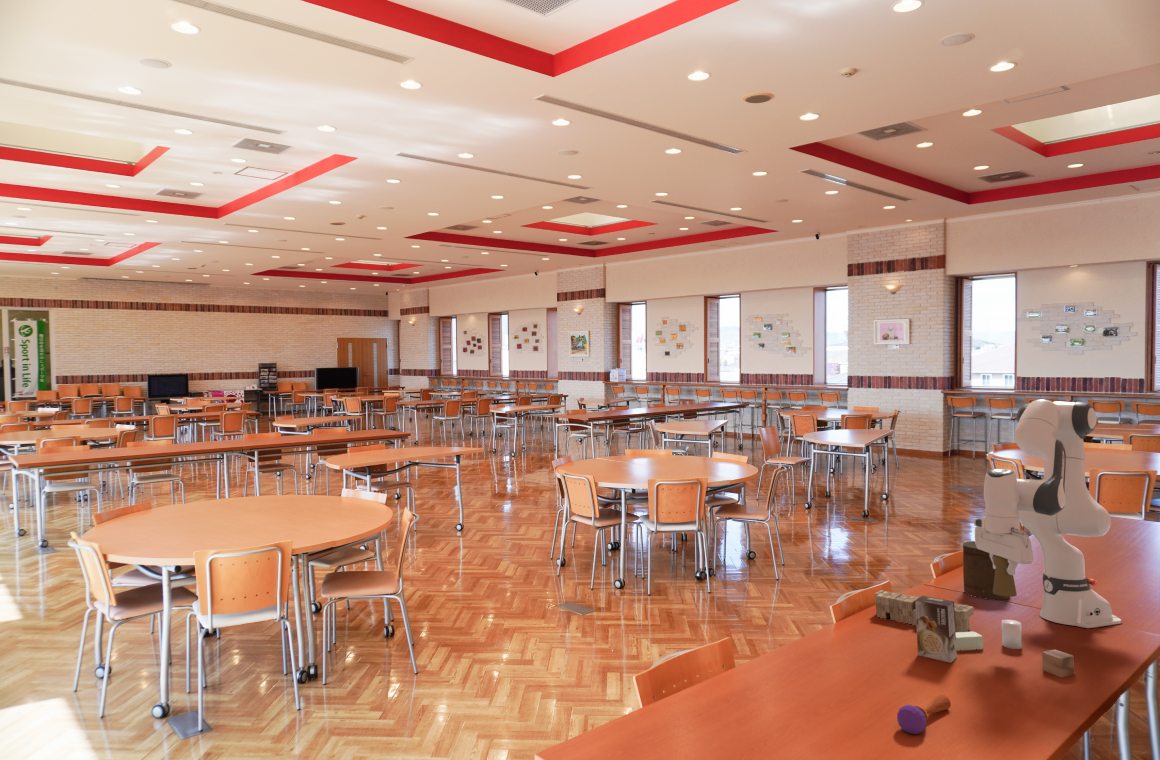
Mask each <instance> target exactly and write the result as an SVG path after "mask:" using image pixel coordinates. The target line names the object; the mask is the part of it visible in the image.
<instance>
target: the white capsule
mask: <svg viewBox="0 0 1160 760" xmlns="http://www.w3.org/2000/svg"><path fill="white" fill-rule="evenodd" d="M1022 632H1023V631H1022V622H1020V621H1018V620H1015V619H1014V620H1013V619H1002V620H1001V641H1002V642H1001V643H1002V644H1001V645H1002V646H1003V647H1004V648H1007V649H1011V650H1022V648H1023V636H1022Z"/></svg>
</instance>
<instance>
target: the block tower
mask: <svg viewBox="0 0 1160 760" xmlns="http://www.w3.org/2000/svg"><path fill="white" fill-rule="evenodd" d="M919 597H920V596H913V595H909V594H902V593H897V592H894V591H885V590H882V589H881V590H877V592H874V599H875V600H874V603H875V604H874V605H875V615H876V614H877V615H876V616H877V617H880V618H879V619H882V618H885V619H884V620H887V619H890V620H889V621H891V620H895V621H899V622H898V623H900V622H904V623H903V624H905V623H908V624H907V625H909V624H912V625H911V626H914V625H916V604H915V601H916V600H917V599H918V598H919ZM954 610H955V632H969V630H970V629H971V627H970V618H971V616H974V614H975V612H974V606H973V605H972V606H971V605H968V604H960V603H959V604H958V603H954ZM889 616H890V617H889ZM877 617H876V618H877ZM888 617H889V618H888ZM886 618H887V619H886ZM895 621H894V622H895Z"/></svg>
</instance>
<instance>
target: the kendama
mask: <svg viewBox="0 0 1160 760" xmlns="http://www.w3.org/2000/svg"><path fill="white" fill-rule="evenodd" d="M951 703H952V702H951V700H950V699H949V697H948V696H946V695H945V694H939V695H937V696H936V697H935V698H934V699H933V700H932V701H930V703H929V704H927V706H925V708H922V707H920V706H917V705H912V704H906V705H903V706H902V707H900V708H899V709H898V711H897V715H896V718H897V719H896V720H897V723H898V726H899V727H900V728H901V729H902V730H903V731H904V732H906V733H909V734H911V735H918V734H920V733H922V732H923V731H924V730H925V728H926V726H927V723H928V715H930V714H934V713H938V712H942V711H945V710H949V709H950V708H951Z"/></svg>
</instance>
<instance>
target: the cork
mask: <svg viewBox="0 0 1160 760" xmlns="http://www.w3.org/2000/svg"><path fill="white" fill-rule="evenodd" d="M993 563H994V565H995V566H996V569H995V577H994V586H993V593H994V594H996V595H1000V596H1006V597H1010V598H1013V597H1017V588H1016V583H1015V578H1014V575H1009V574H1007V573H1006V568H1008V566H1009V563H1008V559H1005V558H1002V557H1000V556H995V557H994V559H993Z"/></svg>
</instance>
